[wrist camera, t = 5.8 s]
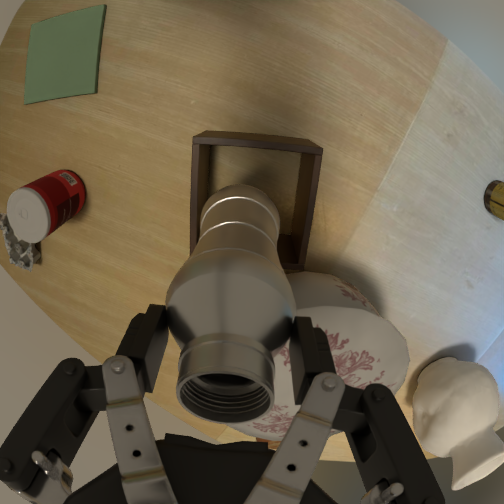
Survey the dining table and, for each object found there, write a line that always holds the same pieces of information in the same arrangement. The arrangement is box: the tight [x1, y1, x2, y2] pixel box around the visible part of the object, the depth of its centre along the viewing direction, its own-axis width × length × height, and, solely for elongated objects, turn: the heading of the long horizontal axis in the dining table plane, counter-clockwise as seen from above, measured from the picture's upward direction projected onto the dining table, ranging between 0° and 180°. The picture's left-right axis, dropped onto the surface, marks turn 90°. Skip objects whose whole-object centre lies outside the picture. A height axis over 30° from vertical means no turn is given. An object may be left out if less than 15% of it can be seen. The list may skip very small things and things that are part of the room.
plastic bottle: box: [165, 184, 296, 424], centre depth 19 cm, size 6×7×20 cm
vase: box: [412, 357, 504, 490], centre depth 46 cm, size 19×21×30 cm
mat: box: [24, 4, 106, 105], centre depth 32 cm, size 14×14×1 cm
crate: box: [190, 130, 323, 270], centre depth 38 cm, size 15×14×9 cm
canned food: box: [7, 170, 85, 243], centre depth 37 cm, size 8×8×11 cm
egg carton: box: [0, 213, 41, 272], centre depth 43 cm, size 11×8×4 cm
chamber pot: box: [226, 271, 410, 441], centre depth 42 cm, size 28×28×21 cm
